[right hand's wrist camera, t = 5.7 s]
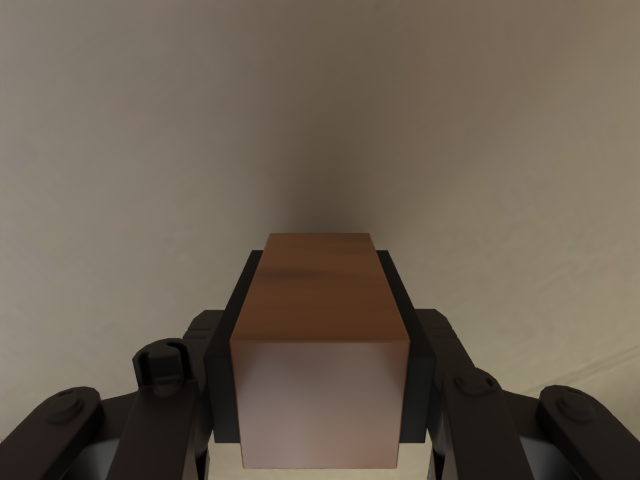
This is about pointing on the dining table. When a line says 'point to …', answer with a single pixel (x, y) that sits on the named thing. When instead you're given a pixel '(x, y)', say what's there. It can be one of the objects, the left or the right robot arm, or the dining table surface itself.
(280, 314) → the block
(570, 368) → the dining table surface
